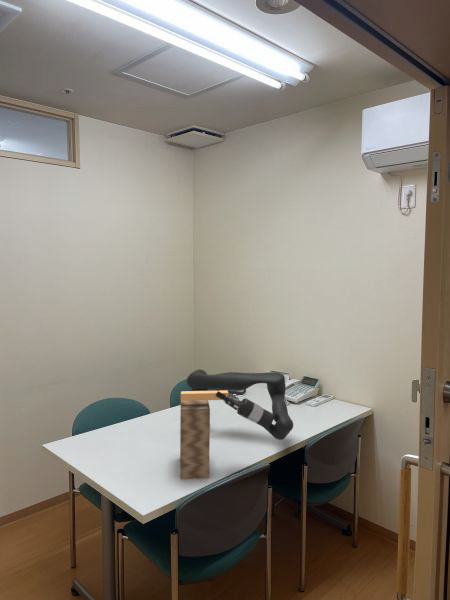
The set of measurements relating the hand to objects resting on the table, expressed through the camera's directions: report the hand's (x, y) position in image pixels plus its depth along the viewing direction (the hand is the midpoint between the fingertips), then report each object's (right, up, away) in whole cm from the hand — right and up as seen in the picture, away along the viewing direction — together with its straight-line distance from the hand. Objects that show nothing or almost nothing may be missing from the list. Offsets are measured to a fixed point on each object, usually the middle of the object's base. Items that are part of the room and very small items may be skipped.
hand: (216, 392), depth 190 cm
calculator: (+10, -26, +121) cm, 124 cm away
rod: (-5, -3, 0) cm, 6 cm away
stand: (-10, -35, +7) cm, 37 cm away
